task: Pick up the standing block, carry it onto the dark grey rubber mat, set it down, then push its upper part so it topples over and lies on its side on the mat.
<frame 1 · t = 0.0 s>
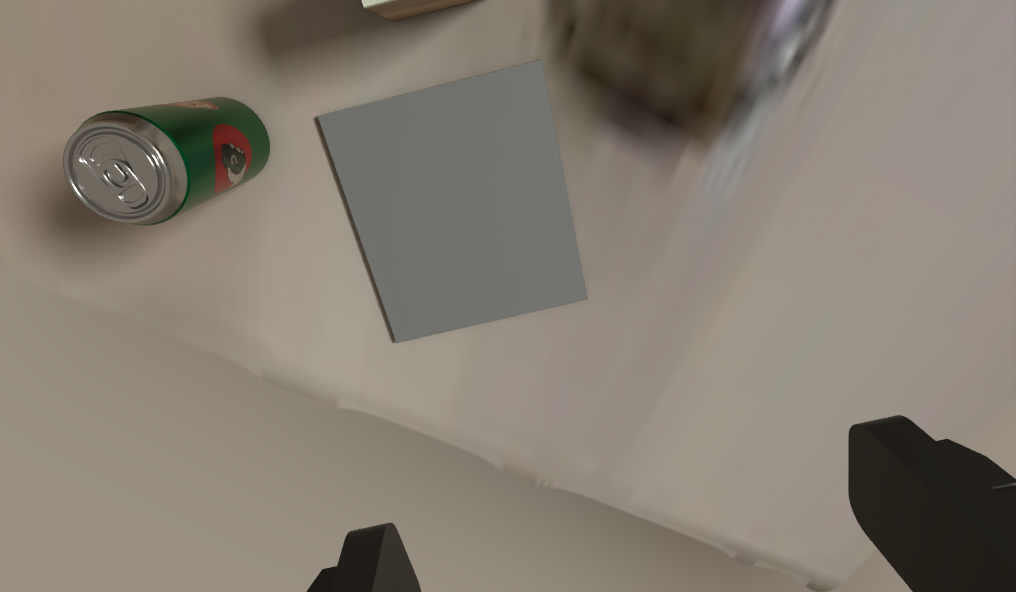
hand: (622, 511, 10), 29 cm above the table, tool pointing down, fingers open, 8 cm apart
mat: (462, 212, 38), on the table
soda can: (232, 139, 35), on the table
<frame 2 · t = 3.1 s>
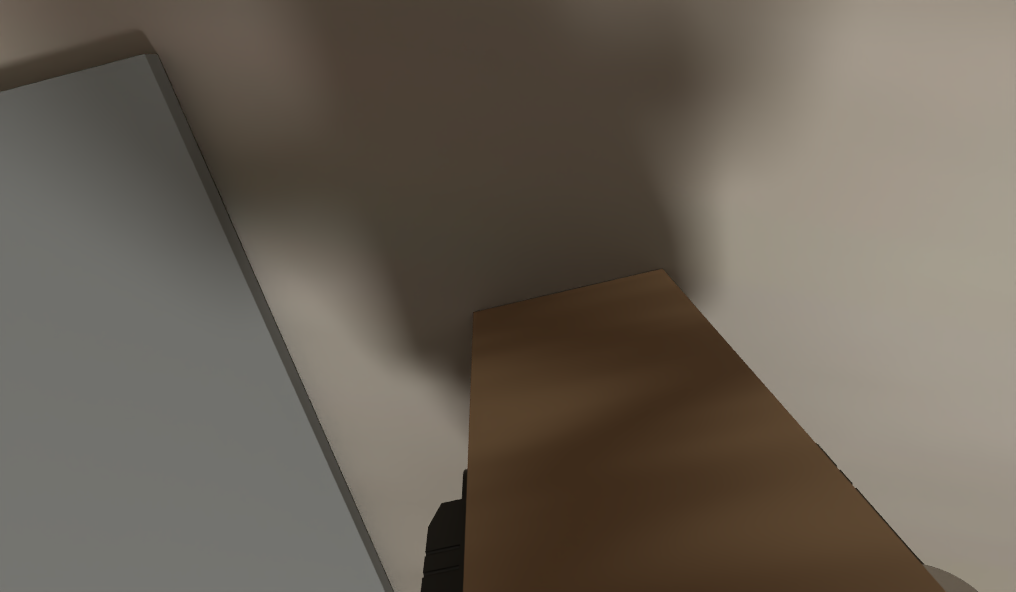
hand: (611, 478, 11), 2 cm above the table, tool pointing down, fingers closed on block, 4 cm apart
block: (591, 409, 13), on the table, touching gripper
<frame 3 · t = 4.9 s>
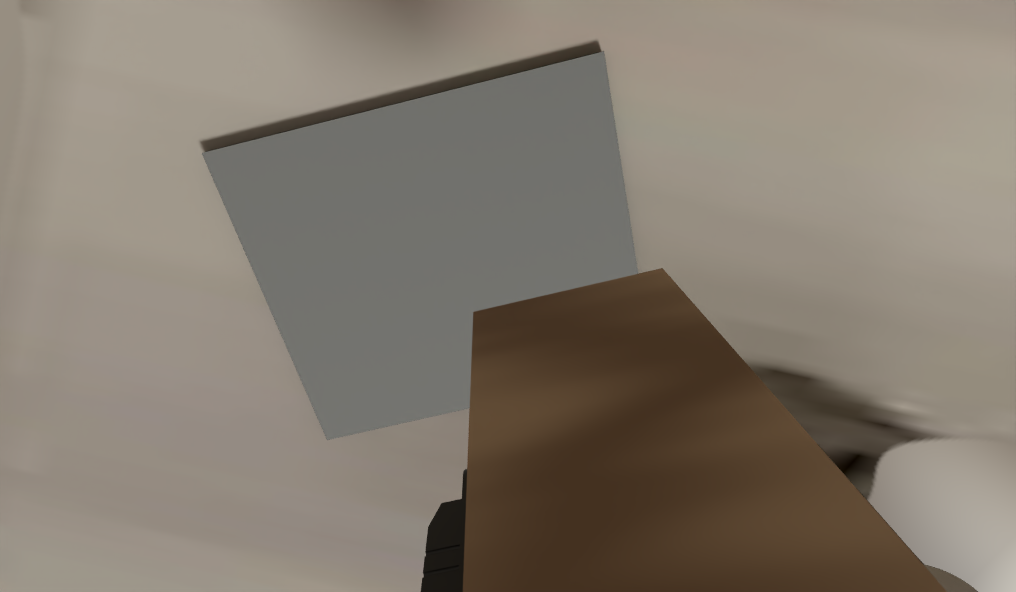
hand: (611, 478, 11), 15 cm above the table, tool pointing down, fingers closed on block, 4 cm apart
mat: (448, 267, 25), on the table
block: (591, 409, 13), point 13 cm above the table, touching gripper
when the fingers open (4 cm above the table, at t = 7.2 s): block stays where it is, resting on mat.
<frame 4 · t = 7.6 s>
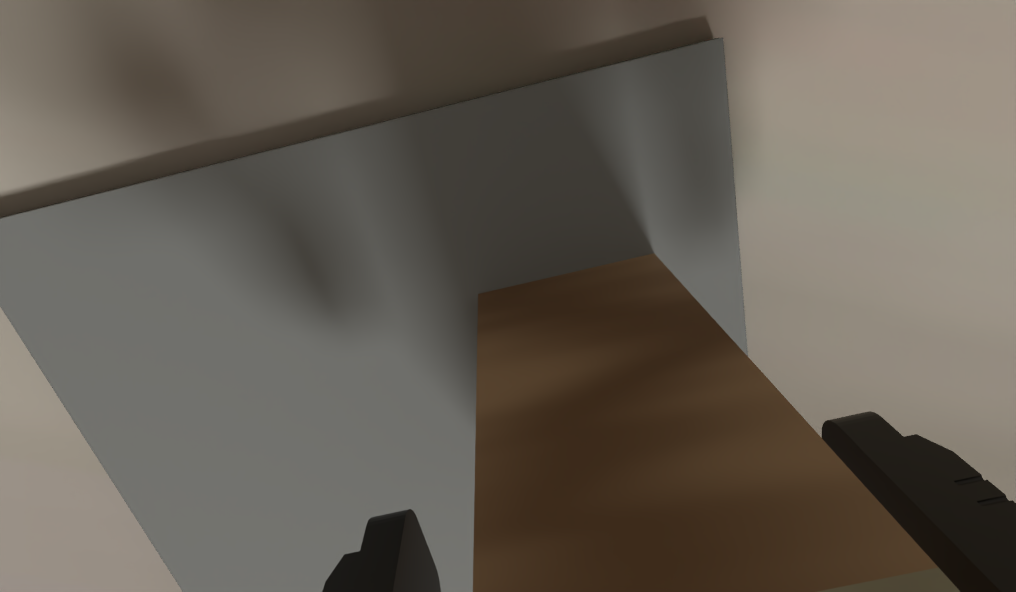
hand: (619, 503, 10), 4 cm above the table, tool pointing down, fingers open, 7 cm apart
mat: (425, 413, 14), on the table
block: (588, 386, 14), resting on mat
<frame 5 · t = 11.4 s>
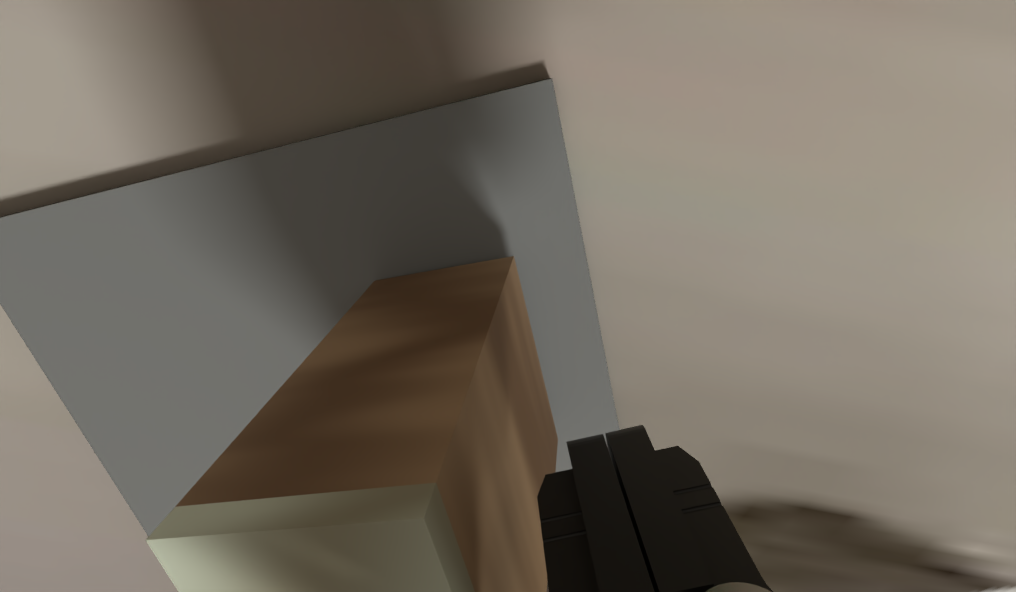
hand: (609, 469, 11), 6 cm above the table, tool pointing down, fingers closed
mat: (341, 380, 17), on the table
block: (470, 363, 16), point 1 cm above the table, tilted 10°, touching mat
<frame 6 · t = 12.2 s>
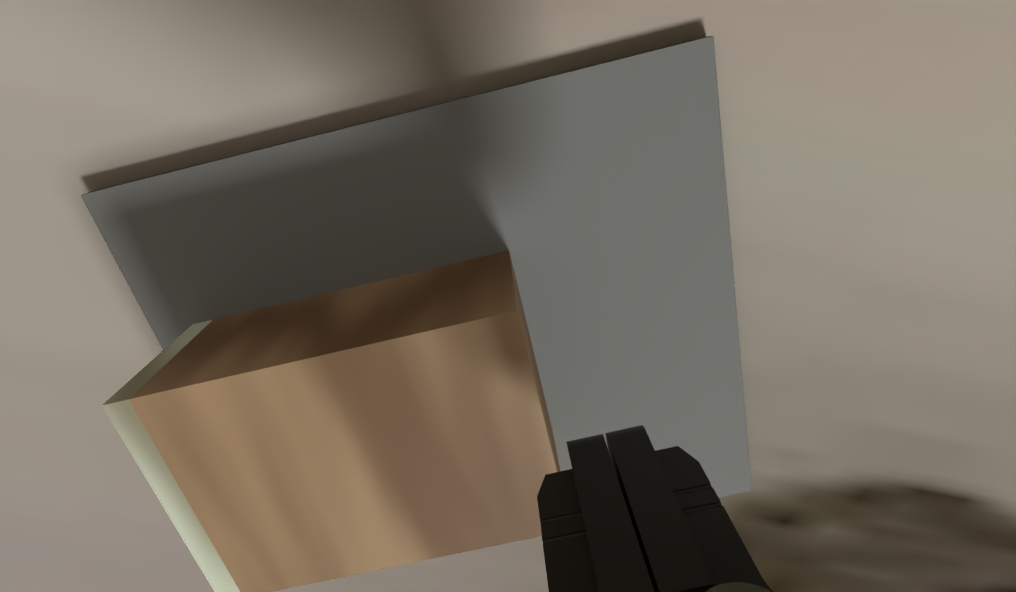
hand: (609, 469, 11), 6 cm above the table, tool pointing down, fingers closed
mat: (462, 356, 17), on the table
block: (538, 383, 14), point 2 cm above the table, tilted 90°, touching mat
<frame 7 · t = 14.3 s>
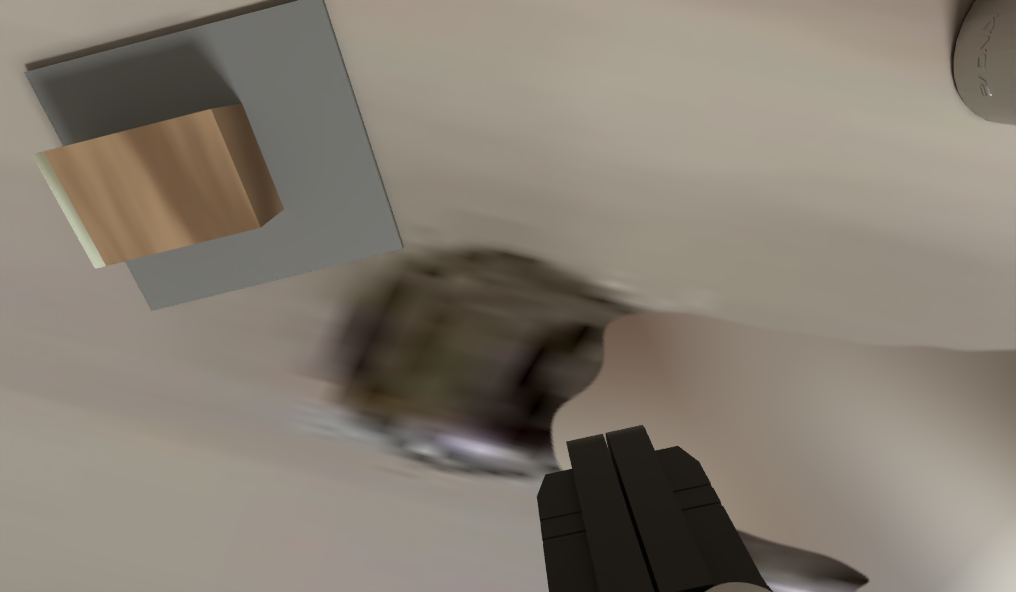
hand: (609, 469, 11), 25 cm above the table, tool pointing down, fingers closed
mat: (230, 166, 32), on the table
block: (251, 164, 30), point 2 cm above the table, tilted 90°, touching mat
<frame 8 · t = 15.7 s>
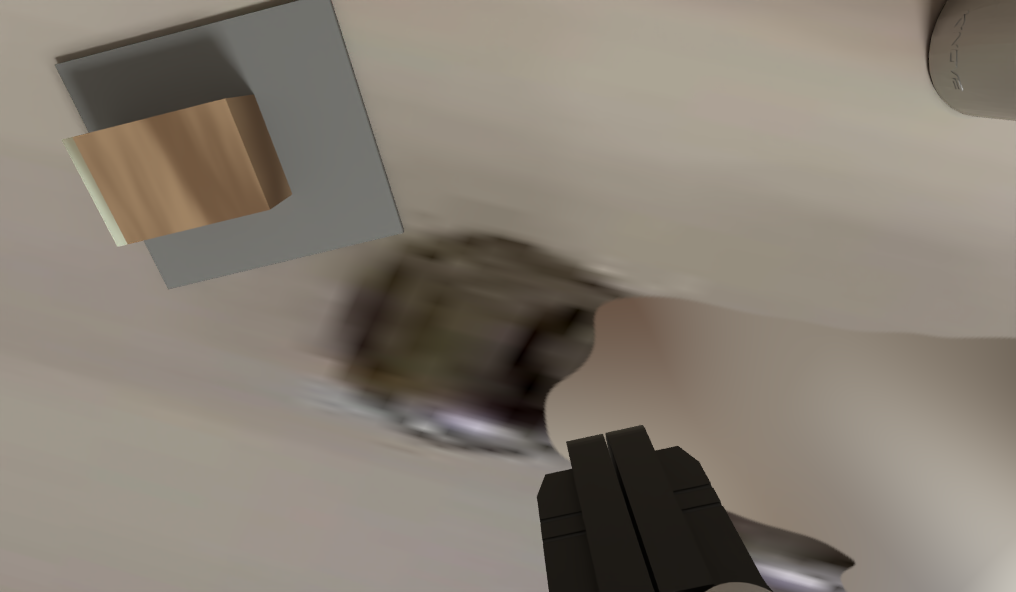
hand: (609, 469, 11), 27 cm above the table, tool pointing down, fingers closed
mat: (243, 153, 34), on the table
block: (261, 150, 32), point 2 cm above the table, tilted 90°, touching mat
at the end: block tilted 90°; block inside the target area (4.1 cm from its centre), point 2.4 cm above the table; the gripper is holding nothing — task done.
